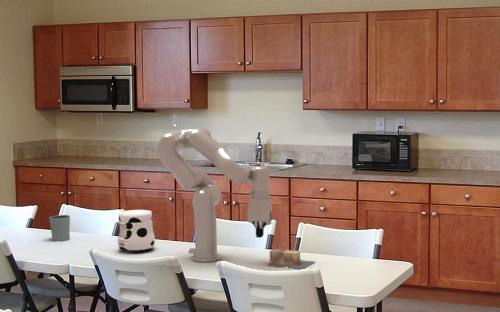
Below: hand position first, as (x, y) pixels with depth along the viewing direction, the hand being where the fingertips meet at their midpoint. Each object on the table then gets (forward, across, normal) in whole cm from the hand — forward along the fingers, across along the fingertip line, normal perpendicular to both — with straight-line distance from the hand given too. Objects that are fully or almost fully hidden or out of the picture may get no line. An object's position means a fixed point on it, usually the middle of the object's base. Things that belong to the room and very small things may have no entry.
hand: (259, 236), depth 327 cm
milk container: (+14, -63, -2) cm, 65 cm away
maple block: (+8, +6, 0) cm, 10 cm away
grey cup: (+16, -114, +3) cm, 115 cm away
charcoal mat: (+10, +15, 0) cm, 18 cm away
